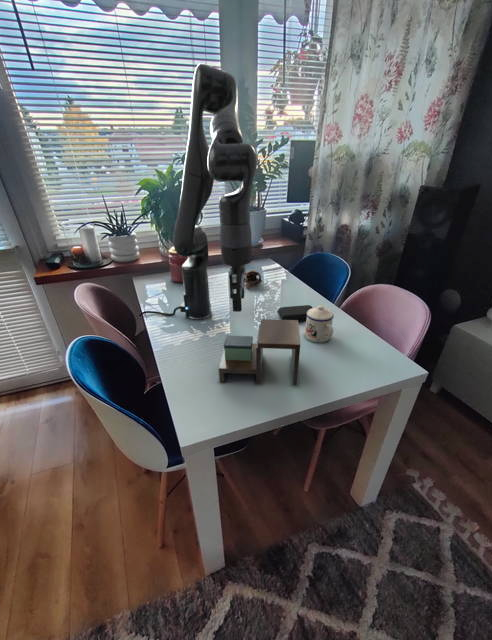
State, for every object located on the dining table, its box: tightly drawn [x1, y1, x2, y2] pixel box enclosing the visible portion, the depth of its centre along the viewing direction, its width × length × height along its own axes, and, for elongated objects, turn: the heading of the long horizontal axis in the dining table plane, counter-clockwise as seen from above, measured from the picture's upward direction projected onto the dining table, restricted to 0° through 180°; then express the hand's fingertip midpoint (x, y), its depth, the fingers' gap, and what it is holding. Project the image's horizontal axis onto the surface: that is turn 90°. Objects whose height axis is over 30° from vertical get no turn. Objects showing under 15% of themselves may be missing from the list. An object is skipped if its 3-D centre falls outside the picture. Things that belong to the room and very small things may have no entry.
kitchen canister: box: [167, 245, 188, 283], centre depth 159 cm, size 13×13×18 cm
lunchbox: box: [223, 335, 254, 361], centre depth 94 cm, size 8×6×5 cm
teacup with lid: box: [304, 304, 335, 343], centre depth 110 cm, size 12×9×12 cm
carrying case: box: [277, 304, 314, 322], centre depth 126 cm, size 11×3×15 cm
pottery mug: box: [244, 270, 263, 290], centre depth 154 cm, size 12×10×8 cm
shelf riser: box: [218, 318, 301, 386], centre depth 94 cm, size 22×14×14 cm, turn 86°
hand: (238, 304), depth 87 cm, fingers open, 8 cm apart
